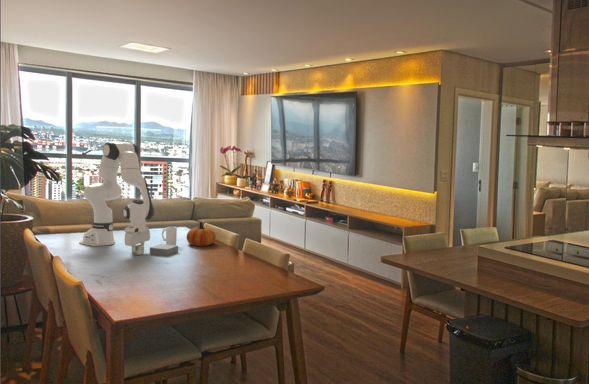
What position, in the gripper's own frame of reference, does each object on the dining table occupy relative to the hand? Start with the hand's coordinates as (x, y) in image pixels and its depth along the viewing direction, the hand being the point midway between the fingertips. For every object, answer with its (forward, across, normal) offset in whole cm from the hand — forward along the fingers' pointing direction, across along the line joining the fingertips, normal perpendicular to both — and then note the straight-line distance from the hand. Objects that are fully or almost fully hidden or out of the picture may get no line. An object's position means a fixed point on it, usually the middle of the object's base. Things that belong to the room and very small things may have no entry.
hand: (137, 250), depth 299 cm
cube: (+2, 0, 0) cm, 2 cm away
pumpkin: (+2, -42, +19) cm, 46 cm away
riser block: (+2, -9, +12) cm, 15 cm away
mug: (+2, -30, +2) cm, 30 cm away
